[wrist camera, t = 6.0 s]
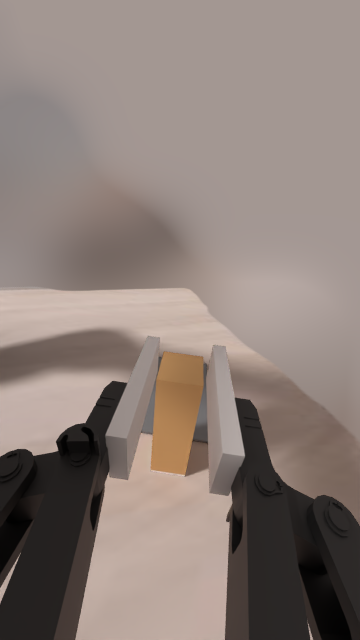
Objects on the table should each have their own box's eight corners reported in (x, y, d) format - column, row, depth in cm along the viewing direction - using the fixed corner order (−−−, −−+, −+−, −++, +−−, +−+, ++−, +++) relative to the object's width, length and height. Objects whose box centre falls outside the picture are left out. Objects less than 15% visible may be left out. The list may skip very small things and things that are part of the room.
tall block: (184, 476, 27) (203, 386, 20) (150, 471, 27) (156, 379, 20) (186, 442, 31) (203, 356, 24) (156, 438, 31) (163, 351, 24)
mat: (208, 442, 32) (209, 441, 31) (136, 432, 32) (136, 430, 32) (206, 365, 47) (206, 363, 47) (158, 358, 48) (158, 357, 48)
